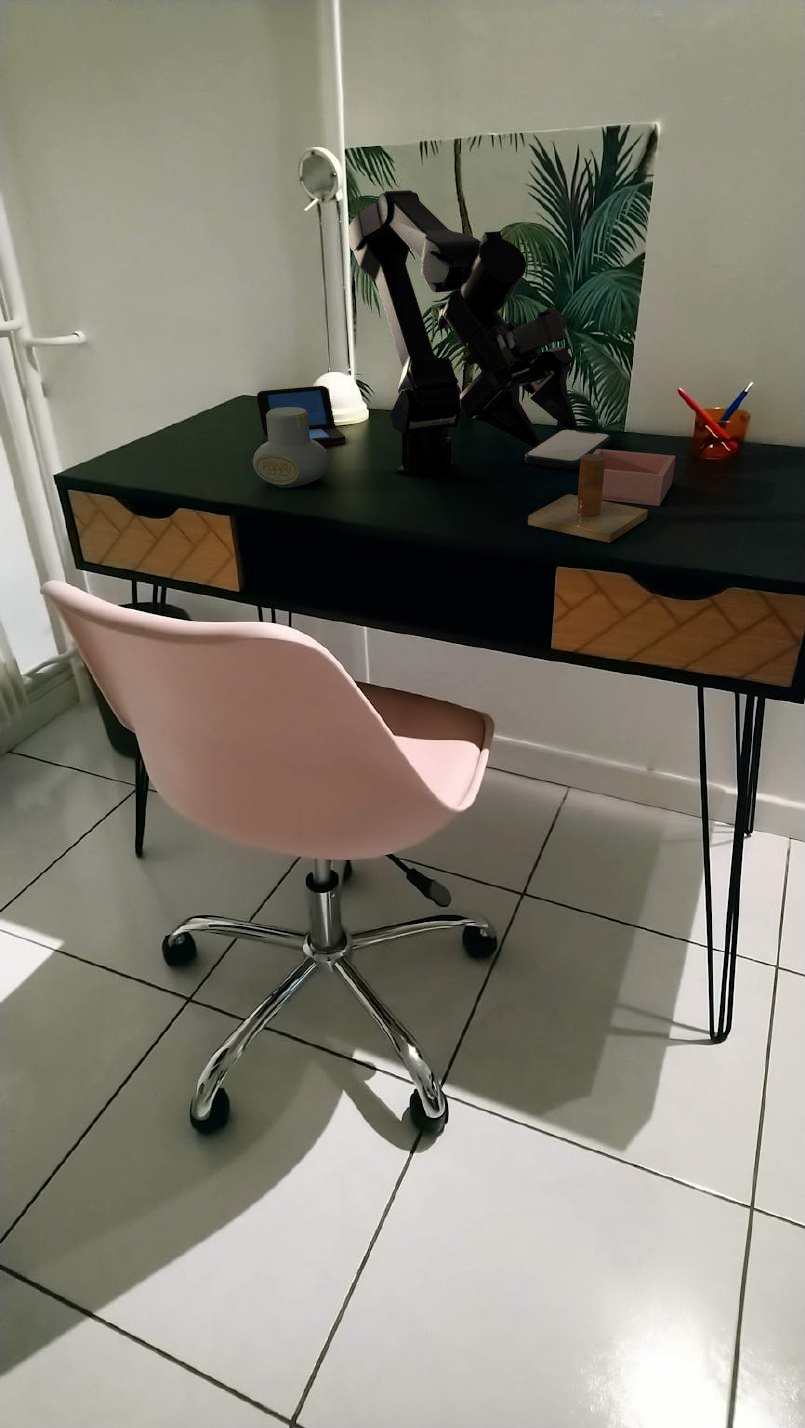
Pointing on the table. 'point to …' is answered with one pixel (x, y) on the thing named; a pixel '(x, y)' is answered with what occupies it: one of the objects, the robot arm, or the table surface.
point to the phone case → (566, 449)
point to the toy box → (636, 476)
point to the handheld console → (312, 402)
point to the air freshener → (290, 450)
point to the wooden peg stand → (589, 508)
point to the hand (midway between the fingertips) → (556, 436)
